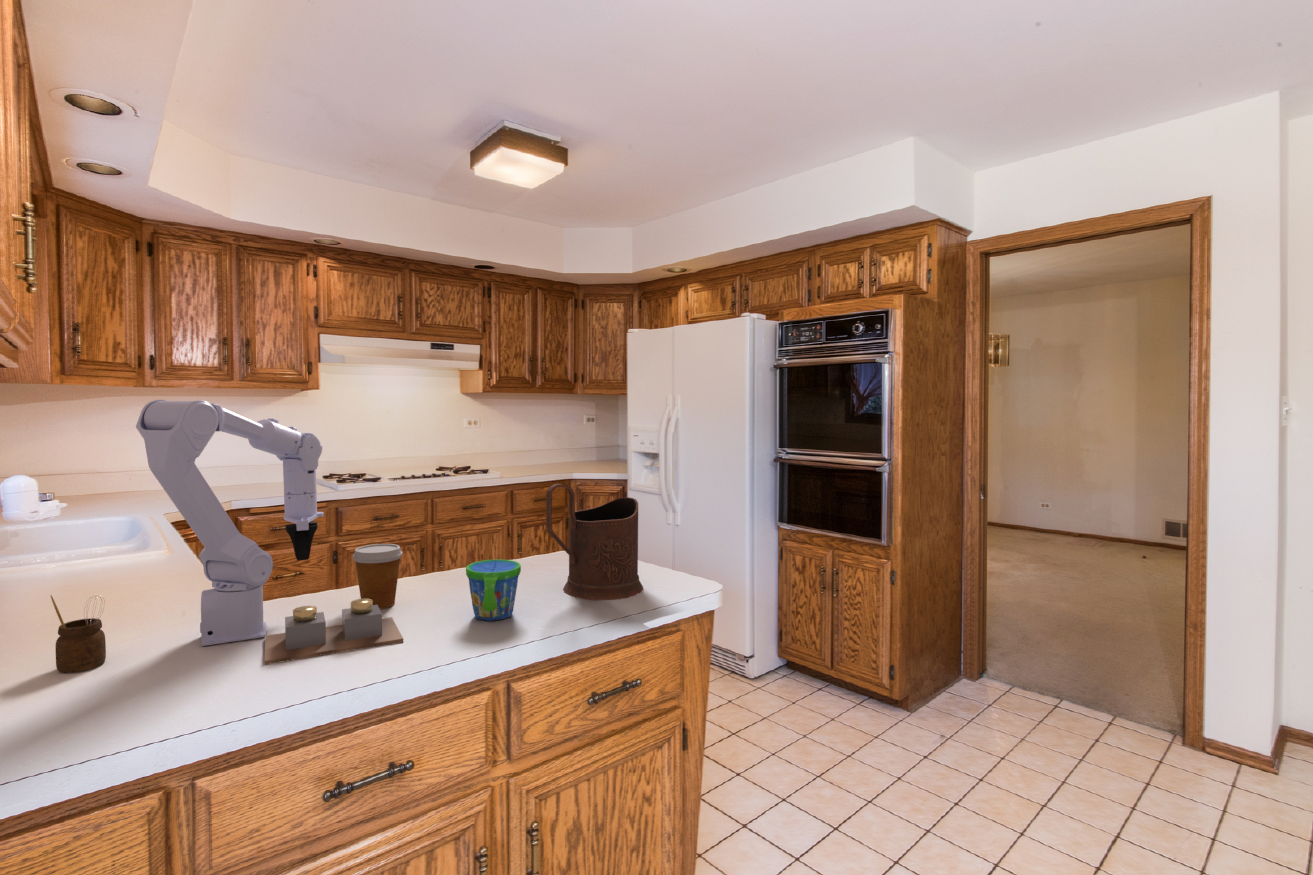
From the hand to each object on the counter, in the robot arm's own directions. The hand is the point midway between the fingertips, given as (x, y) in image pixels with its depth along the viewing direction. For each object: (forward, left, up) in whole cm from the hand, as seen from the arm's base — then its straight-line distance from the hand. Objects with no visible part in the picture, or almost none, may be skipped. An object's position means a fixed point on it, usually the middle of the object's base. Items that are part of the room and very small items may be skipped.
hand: (302, 559), depth 131 cm
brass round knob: (+9, -21, -10) cm, 25 cm away
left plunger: (0, -21, -10) cm, 23 cm away
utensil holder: (-31, -15, -11) cm, 37 cm away
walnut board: (+4, -21, -10) cm, 24 cm away
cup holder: (+58, -14, -11) cm, 60 cm away
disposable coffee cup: (+14, -3, -11) cm, 18 cm away
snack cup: (+33, -21, -11) cm, 40 cm away
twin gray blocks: (+4, -21, -10) cm, 24 cm away
